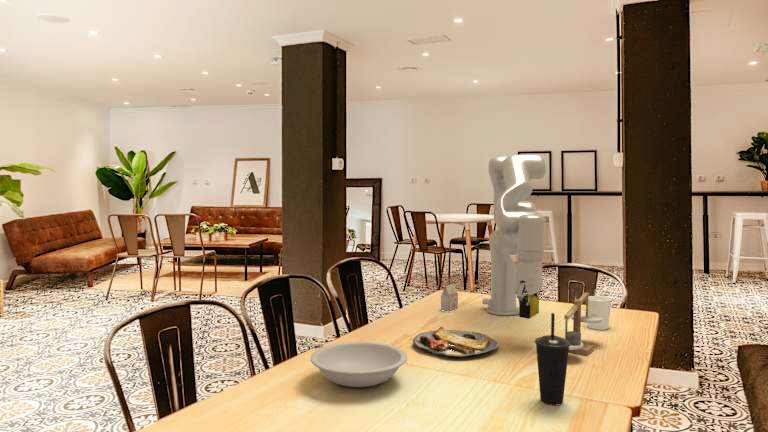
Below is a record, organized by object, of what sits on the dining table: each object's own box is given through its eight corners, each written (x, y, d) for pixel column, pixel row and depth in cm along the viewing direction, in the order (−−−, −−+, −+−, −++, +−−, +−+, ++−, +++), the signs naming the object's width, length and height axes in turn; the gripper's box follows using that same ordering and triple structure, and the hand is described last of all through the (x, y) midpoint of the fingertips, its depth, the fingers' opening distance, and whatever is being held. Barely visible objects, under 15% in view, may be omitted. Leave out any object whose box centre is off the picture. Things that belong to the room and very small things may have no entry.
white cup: (606, 324, 184) (606, 296, 184) (613, 330, 176) (614, 301, 176) (582, 324, 185) (583, 295, 184) (589, 330, 177) (589, 300, 177)
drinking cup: (528, 394, 123) (530, 309, 122) (560, 393, 123) (562, 309, 122) (541, 408, 115) (542, 318, 114) (575, 407, 116) (577, 317, 115)
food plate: (398, 346, 159) (398, 335, 159) (444, 331, 177) (444, 321, 176) (467, 368, 143) (468, 355, 142) (511, 349, 160) (511, 338, 159)
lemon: (538, 316, 161) (539, 291, 160) (538, 322, 155) (538, 295, 155) (520, 315, 162) (520, 289, 162) (518, 320, 157) (519, 293, 156)
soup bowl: (373, 409, 115) (373, 379, 115) (290, 387, 128) (289, 360, 127) (424, 375, 135) (424, 350, 135) (348, 359, 148) (348, 336, 148)
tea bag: (440, 311, 204) (441, 285, 204) (449, 307, 210) (449, 282, 209) (449, 312, 202) (449, 286, 202) (457, 309, 208) (458, 284, 207)
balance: (544, 359, 148) (544, 303, 147) (576, 337, 169) (577, 288, 168) (576, 365, 142) (577, 307, 141) (605, 342, 163) (607, 291, 162)
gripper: (530, 250, 166) (528, 307, 168) (505, 258, 153) (504, 319, 154) (553, 253, 161) (552, 311, 163) (530, 261, 148) (529, 324, 150)
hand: (529, 314), depth 159 cm, fingers closed on lemon, 5 cm apart
